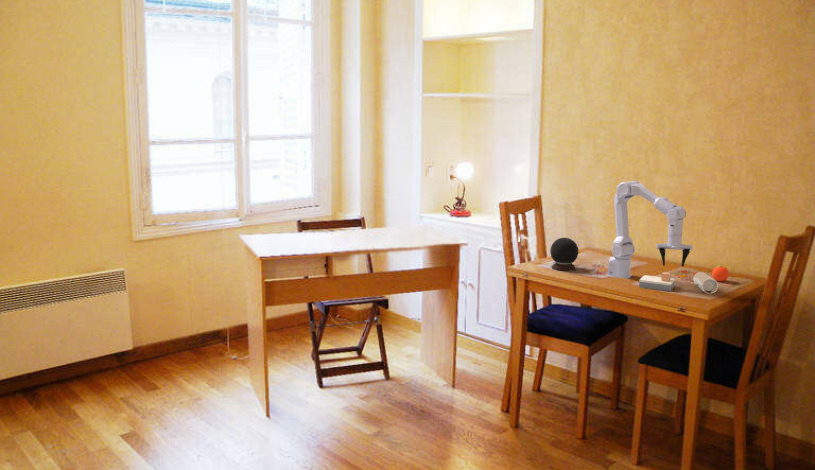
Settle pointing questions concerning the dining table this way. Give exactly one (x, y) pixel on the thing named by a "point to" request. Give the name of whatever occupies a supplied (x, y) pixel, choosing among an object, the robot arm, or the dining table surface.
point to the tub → (656, 286)
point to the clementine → (720, 273)
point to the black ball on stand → (564, 254)
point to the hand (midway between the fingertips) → (673, 265)
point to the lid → (658, 279)
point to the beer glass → (705, 282)
